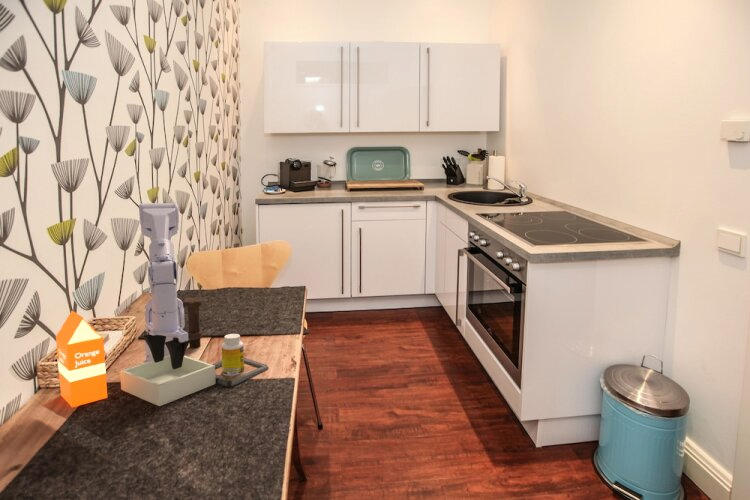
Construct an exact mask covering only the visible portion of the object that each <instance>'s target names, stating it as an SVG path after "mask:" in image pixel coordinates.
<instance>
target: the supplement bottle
mask: <svg viewBox="0 0 750 500" xmlns="http://www.w3.org/2000/svg"><path fill="white" fill-rule="evenodd" d="M223 338H224V342H223V343H222V344H221V346H220V347H221V361H222V366H221V369H222V375H223V376H227V377H234V376H235V377H236V376H240V375H242V373H243V374H244V372H245V363H244V358H245V357H244V356H245V355H244V354H245V353H244V351H245V350H244V343H243V341H241V335H240V334H239V333H229V334H226V335H224V337H223Z"/></svg>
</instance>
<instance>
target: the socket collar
mask: <svg viewBox="0 0 750 500" xmlns="http://www.w3.org/2000/svg"><path fill="white" fill-rule="evenodd" d="M211 364H212V365H215V370H216V369H218V368H220V367H221V368H222V360H219V361H217V362H214V363H211ZM244 364H248V365H251V366H254V367H256V369H254V370H253V369H252V370H250V371H248V372H246V373H243V374H239V375H237V376H235V377H233V378H231V379H230V378H228V377H224V376H222V375H218V374H216V373H215V381H216V384H219V385H222V386H224V387H234V386H236V385H238V384H241V383H243V382H245V381H247V380H248V379H251V378H253V377H255V376H257V375H259V374H261V373H263V372H265V371H267V370H269V369H270V368H269V366H268V365H267V364H266V363H264V362H259V361H257V360H252V359H249V358H245V357H244Z"/></svg>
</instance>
